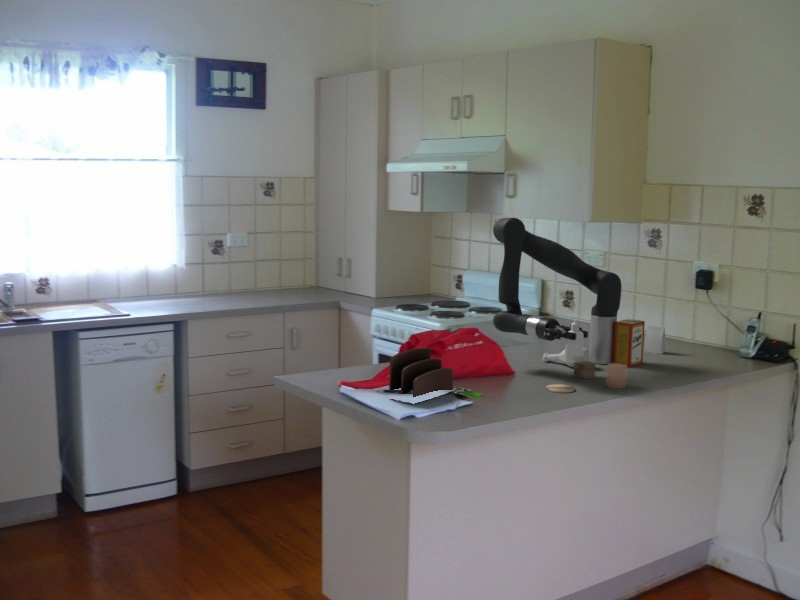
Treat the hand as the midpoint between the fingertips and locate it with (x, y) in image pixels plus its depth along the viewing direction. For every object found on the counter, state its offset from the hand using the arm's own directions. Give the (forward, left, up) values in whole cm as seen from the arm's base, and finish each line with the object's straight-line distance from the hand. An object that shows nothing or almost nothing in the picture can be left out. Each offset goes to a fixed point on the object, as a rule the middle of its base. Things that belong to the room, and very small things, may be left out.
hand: (581, 335), depth 280 cm
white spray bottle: (-29, +13, -17) cm, 36 cm away
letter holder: (-6, -53, -17) cm, 56 cm away
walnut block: (-11, +9, -17) cm, 22 cm away
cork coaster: (+2, -8, -16) cm, 19 cm away
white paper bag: (-37, +59, -17) cm, 72 cm away
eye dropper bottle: (-3, -1, -7) cm, 8 cm away
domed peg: (+4, +12, -17) cm, 21 cm away
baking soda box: (-23, +36, -17) cm, 46 cm away
